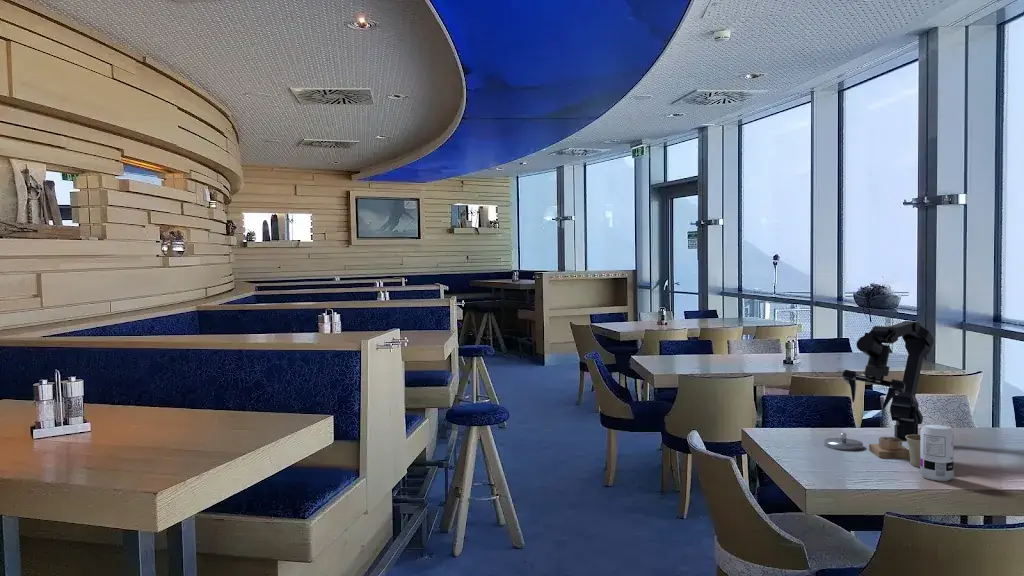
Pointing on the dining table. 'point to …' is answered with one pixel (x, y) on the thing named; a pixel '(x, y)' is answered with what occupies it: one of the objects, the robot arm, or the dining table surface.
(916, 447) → the flower pot
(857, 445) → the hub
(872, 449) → the stand
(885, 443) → the octagonal wooden ring
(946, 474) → the supplement can
